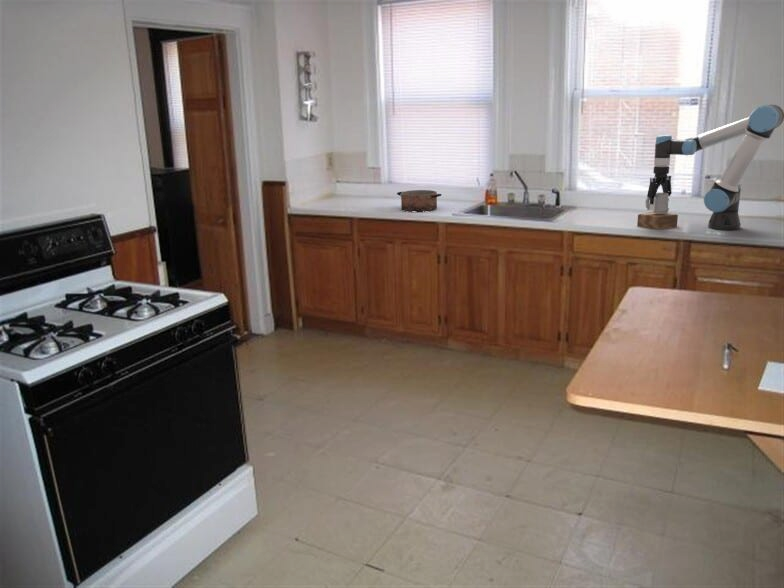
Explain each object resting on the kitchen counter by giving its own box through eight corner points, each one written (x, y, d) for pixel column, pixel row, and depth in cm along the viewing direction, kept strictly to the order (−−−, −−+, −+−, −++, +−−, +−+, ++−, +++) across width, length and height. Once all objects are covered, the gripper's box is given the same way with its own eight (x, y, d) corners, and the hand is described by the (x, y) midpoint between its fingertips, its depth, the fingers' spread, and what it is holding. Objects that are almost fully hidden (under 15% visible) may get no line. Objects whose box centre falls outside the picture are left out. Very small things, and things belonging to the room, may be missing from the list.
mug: (670, 213, 367) (671, 190, 364) (646, 213, 369) (647, 190, 365) (666, 211, 374) (668, 188, 371) (643, 211, 376) (645, 188, 373)
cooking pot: (448, 208, 448) (448, 191, 445) (431, 213, 430) (431, 196, 427) (408, 205, 464) (407, 189, 461) (389, 210, 446) (389, 193, 443)
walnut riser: (676, 226, 371) (677, 214, 370) (659, 229, 364) (660, 217, 363) (654, 222, 383) (655, 211, 381) (637, 225, 376) (638, 214, 374)
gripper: (669, 163, 373) (665, 206, 380) (641, 167, 362) (638, 210, 369) (681, 164, 367) (677, 207, 373) (653, 168, 356) (650, 212, 363)
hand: (658, 209), depth 371 cm, fingers closed on mug, 9 cm apart
